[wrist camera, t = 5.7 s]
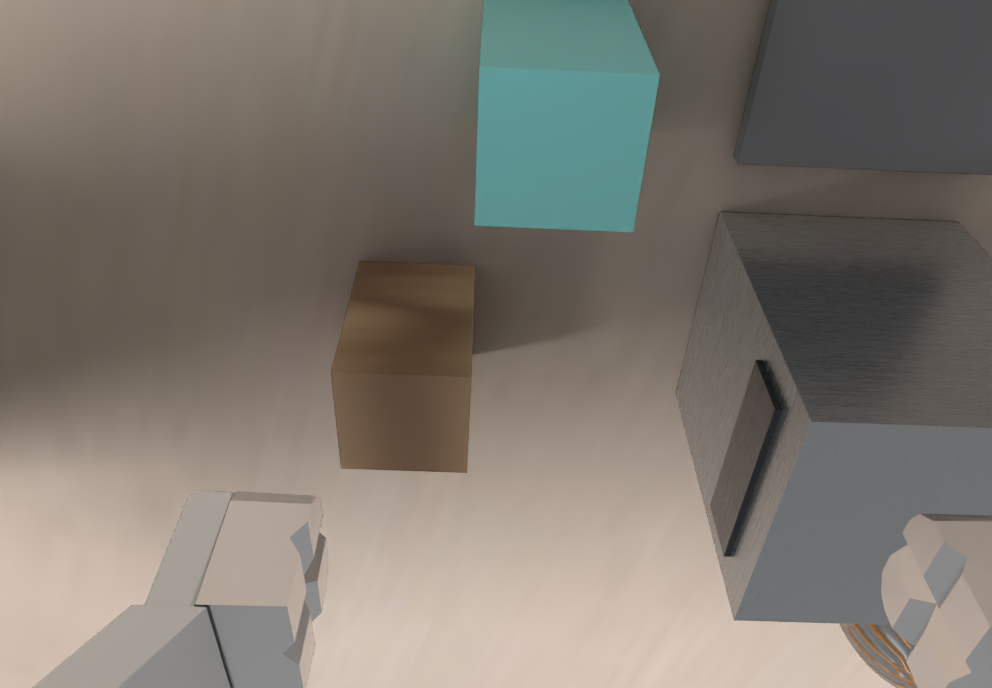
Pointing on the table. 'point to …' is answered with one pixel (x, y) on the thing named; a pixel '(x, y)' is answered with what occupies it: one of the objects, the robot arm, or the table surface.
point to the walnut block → (405, 368)
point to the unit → (835, 402)
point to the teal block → (562, 115)
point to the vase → (882, 652)
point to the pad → (872, 87)
